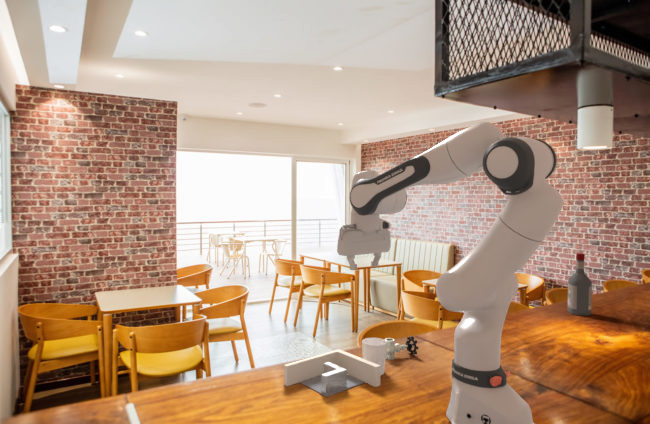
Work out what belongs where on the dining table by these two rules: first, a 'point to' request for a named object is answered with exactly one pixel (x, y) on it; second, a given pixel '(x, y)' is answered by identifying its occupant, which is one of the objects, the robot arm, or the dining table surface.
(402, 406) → the dining table surface
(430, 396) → the dining table surface
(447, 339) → the dining table surface
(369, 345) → the white cup
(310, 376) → the corner walls
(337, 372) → the bracket
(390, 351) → the valve
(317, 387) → the mat
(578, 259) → the liquor
